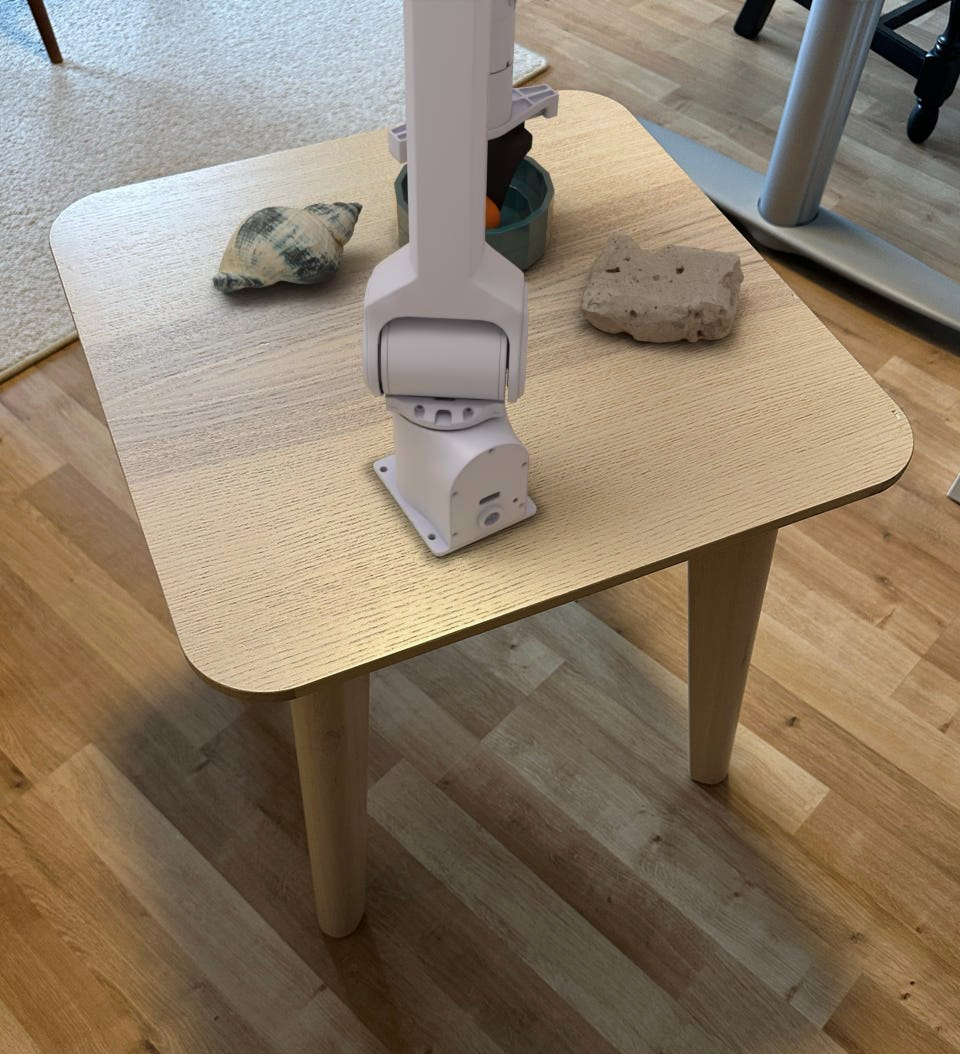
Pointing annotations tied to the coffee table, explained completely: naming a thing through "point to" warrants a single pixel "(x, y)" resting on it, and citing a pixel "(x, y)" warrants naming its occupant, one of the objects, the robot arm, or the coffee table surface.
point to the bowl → (504, 214)
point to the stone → (662, 291)
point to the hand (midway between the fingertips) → (473, 212)
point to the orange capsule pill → (491, 215)
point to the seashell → (287, 246)
